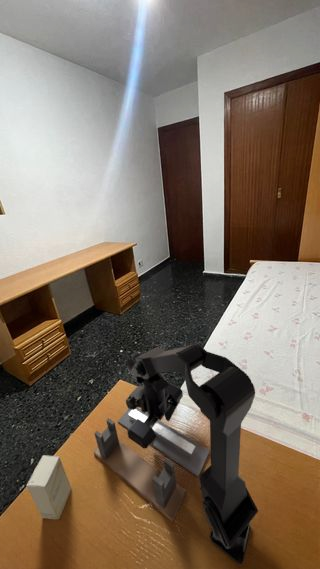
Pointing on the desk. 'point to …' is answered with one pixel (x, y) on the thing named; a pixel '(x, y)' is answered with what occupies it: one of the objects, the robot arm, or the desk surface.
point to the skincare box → (49, 487)
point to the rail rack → (140, 472)
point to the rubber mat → (190, 465)
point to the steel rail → (167, 436)
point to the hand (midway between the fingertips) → (159, 431)
